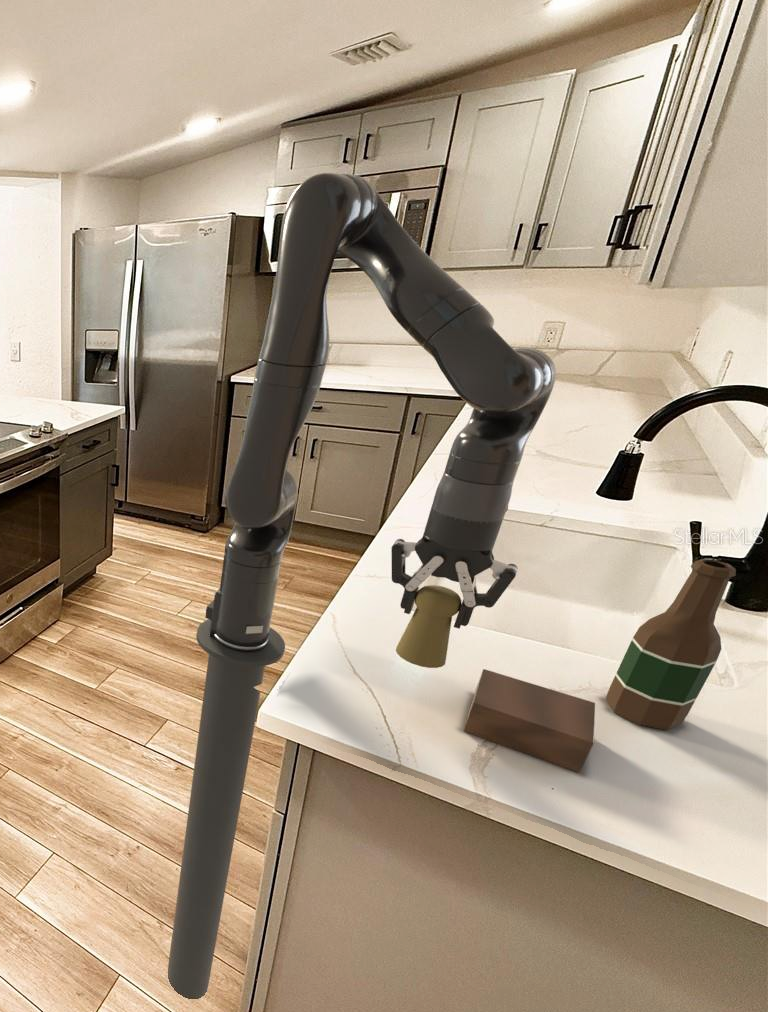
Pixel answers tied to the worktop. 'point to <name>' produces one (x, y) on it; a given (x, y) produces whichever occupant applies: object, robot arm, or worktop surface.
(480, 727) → the walnut block
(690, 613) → the beer bottle
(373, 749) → the worktop surface
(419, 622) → the cork
